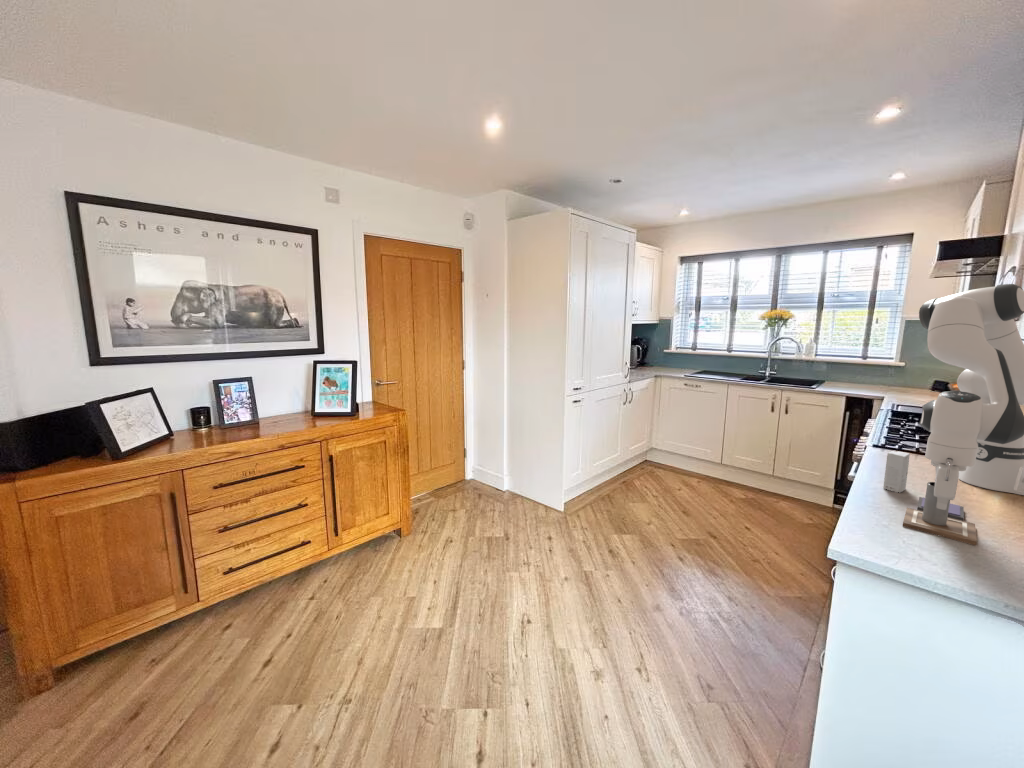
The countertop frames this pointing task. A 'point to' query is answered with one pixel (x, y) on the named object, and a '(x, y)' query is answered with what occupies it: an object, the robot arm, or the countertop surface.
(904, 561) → the countertop surface
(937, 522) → the planter
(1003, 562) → the countertop surface
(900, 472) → the skincare box
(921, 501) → the ink pad
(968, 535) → the marked board
